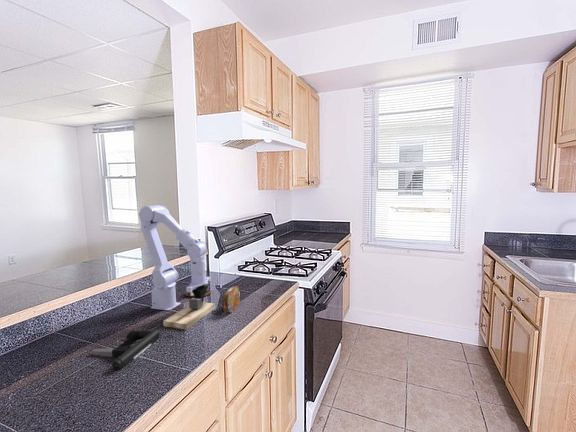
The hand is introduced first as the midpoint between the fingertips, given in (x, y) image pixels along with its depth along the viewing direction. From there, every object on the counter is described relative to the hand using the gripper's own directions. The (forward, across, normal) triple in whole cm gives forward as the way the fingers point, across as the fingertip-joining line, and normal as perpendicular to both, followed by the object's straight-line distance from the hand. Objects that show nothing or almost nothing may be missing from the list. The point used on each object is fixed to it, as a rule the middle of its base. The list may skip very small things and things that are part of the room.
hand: (199, 303), depth 129 cm
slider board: (+3, -6, 0) cm, 7 cm away
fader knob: (+1, -3, 0) cm, 3 cm away
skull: (+3, +17, +12) cm, 21 cm away
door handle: (+4, -34, +6) cm, 35 cm away
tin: (+3, +6, -12) cm, 14 cm away
